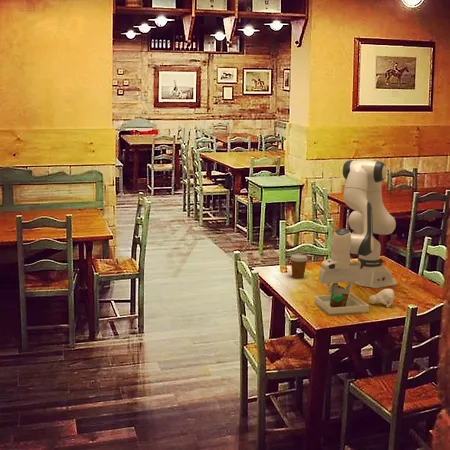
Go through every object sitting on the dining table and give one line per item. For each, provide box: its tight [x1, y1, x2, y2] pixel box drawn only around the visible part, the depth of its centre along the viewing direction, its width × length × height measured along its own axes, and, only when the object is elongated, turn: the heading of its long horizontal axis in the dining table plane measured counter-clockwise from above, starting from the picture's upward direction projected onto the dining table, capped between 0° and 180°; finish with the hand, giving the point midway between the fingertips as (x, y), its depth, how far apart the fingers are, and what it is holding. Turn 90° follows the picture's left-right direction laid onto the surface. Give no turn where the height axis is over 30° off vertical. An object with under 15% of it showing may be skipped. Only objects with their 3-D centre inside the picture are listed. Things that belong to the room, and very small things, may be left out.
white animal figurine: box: [368, 288, 395, 308], centre depth 339 cm, size 6×8×12 cm
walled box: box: [314, 293, 370, 316], centre depth 334 cm, size 20×18×4 cm
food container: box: [330, 283, 351, 307], centre depth 332 cm, size 12×6×10 cm, turn 19°
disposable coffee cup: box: [289, 253, 308, 280], centre depth 381 cm, size 10×10×12 cm
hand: (338, 290), depth 332 cm, fingers open, 8 cm apart
